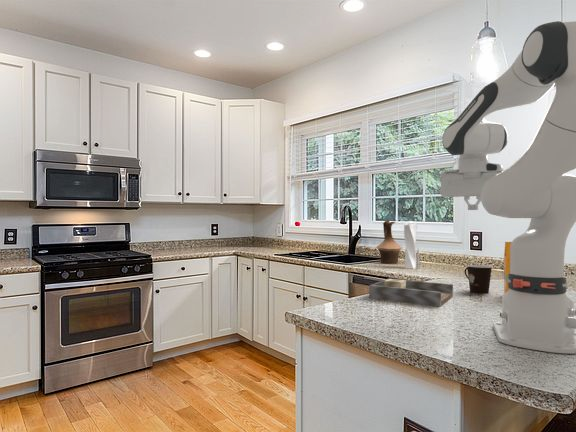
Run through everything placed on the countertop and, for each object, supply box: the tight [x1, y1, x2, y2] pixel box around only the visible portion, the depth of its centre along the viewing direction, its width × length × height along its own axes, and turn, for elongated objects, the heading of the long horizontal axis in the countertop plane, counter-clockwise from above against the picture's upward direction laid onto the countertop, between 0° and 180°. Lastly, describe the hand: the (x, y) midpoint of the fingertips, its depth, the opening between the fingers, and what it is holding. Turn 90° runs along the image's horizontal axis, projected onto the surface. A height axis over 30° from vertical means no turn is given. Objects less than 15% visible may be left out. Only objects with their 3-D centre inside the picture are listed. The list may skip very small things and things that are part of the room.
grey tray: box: [368, 278, 454, 308], centre depth 137 cm, size 24×20×4 cm
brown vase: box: [375, 219, 403, 265], centre depth 250 cm, size 18×17×28 cm
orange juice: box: [503, 241, 512, 294], centre depth 137 cm, size 8×9×20 cm
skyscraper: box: [403, 220, 421, 270], centre depth 222 cm, size 8×8×28 cm
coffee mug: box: [464, 264, 493, 295], centre depth 149 cm, size 12×9×10 cm
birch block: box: [384, 278, 407, 288], centre depth 140 cm, size 6×6×4 cm
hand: (472, 209), depth 127 cm, fingers closed
